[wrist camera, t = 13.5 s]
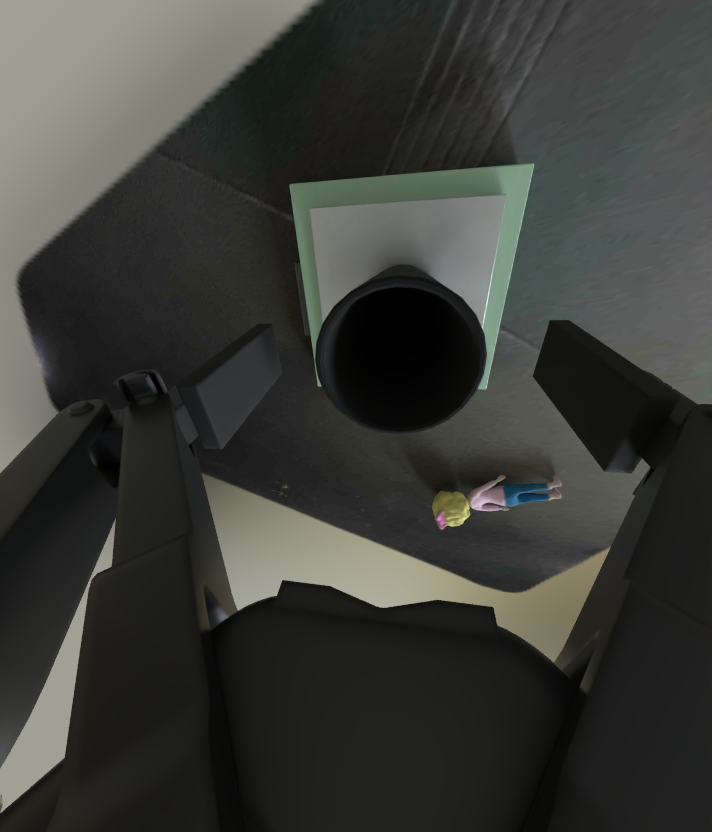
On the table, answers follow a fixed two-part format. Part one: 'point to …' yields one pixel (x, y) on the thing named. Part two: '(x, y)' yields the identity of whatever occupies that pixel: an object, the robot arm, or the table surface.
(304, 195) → the scale
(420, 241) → the pan
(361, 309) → the cup
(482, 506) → the figurine
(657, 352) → the table surface
